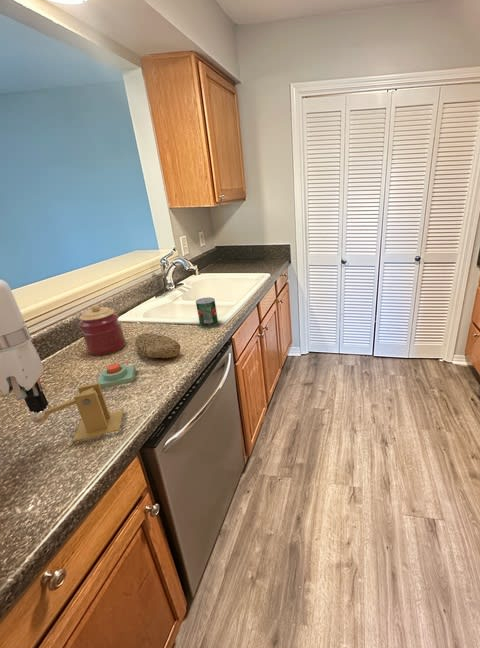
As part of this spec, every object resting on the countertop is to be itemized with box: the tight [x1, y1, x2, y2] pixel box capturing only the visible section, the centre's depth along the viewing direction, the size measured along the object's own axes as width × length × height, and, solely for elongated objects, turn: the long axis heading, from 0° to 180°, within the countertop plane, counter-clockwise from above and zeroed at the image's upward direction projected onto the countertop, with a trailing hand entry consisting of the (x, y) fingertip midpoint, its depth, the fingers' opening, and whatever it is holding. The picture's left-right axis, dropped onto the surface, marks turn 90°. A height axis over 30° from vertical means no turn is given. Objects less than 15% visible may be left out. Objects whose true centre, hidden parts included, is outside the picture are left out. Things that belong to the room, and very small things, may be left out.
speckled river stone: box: [134, 332, 182, 359], centre depth 117 cm, size 13×8×20 cm
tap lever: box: [29, 388, 98, 424], centre depth 77 cm, size 14×4×4 cm, turn 111°
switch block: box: [96, 364, 137, 389], centre depth 102 cm, size 10×8×4 cm
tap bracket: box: [72, 381, 124, 442], centre depth 80 cm, size 10×8×12 cm
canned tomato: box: [195, 297, 219, 328], centre depth 140 cm, size 8×8×11 cm
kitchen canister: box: [78, 304, 126, 356], centre depth 121 cm, size 13×13×18 cm
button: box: [106, 362, 121, 374], centre depth 101 cm, size 4×4×2 cm
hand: (39, 408), depth 75 cm, fingers closed
